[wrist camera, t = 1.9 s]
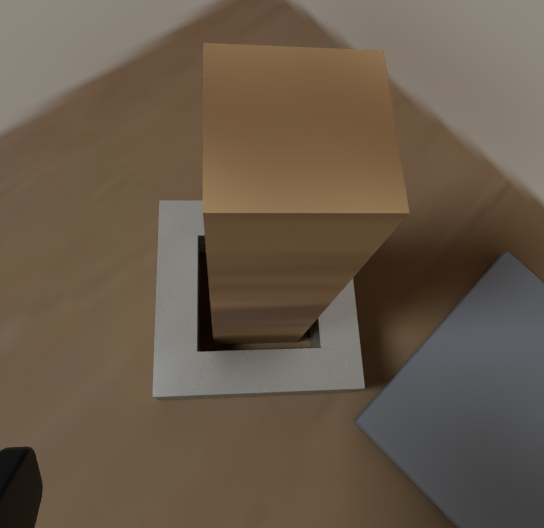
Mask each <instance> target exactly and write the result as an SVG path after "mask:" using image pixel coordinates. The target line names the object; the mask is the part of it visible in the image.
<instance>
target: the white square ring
mask: <svg viewBox="0 0 544 528" xmlns="http://www.w3.org/2000/svg"><path fill="white" fill-rule="evenodd" d="M200 252H206V245H205V232H204V220H203V201H160V202H159V230H158V259H157V287H156V315H155V344H154V372H153V397H154V398H156V399H158V400H178V399H202V398H226V397H250V396H274V395H298V394H322V393H345V392H354V391H357V390H361V389H364V388H365V384H364V375H363V366H362V357H361V347H360V338H359V329H358V320H357V310H356V301H355V292H354V283H353V279H352V280H351V281H350V282H349V283H348V284H347V285H346V287H345V288H344V289H343V290H342V291H341V292H340V293H339V295H338V296H337V297H336V298H335V299H334V300H333V301H332V303H331V304H330V305H329V306H328V307H327V308H326V309H325V311H324V312H323V313H322V314H321V315H320V316H319V317H318V319H317V320H316V321H315V322H314V323H313V324H312V325H311V327H310V342H311V348H304V349H271V350H239V351H206V352H199V309H200Z"/></svg>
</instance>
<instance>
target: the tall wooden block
mask: <svg viewBox="0 0 544 528" xmlns="http://www.w3.org/2000/svg"><path fill="white" fill-rule="evenodd" d="M408 214H409V207H408V201H407V194H406V188H405V181H404V175H403V169H402V162H401V156H400V150H399V143H398V137H397V130H396V124H395V118H394V111H393V105H392V99H391V92H390V86H389V79H388V73H387V67H386V60H385V54H384V51H377V50H356V49H332V48H309V47H285V46H262V45H238V44H214V43H203V220H204V232H205V245H206V257H207V269H208V282H209V294H210V307H211V319H212V331H213V344H214V345H217V344H251V343H286V342H297V341H298V340H299V339H300V338H301V337H302V336H303V335H304V333H305V332H306V331H307V330H308V329H309V328H310V327H311V325H312V324H313V323H314V322H315V321H316V320H317V319H318V317H319V316H320V315H321V314H322V313H323V312H324V311H325V309H326V308H327V307H328V306H329V305H330V304H331V303H332V301H333V300H334V299H335V298H336V297H337V296H338V295H339V293H340V292H341V291H342V290H343V289H344V288H345V287H346V285H347V284H348V283H349V282H350V281H351V280H352V279H353V277H354V276H355V275H356V274H357V273H358V272H359V270H360V269H361V268H362V267H363V266H364V265H365V264H366V262H367V261H368V260H369V259H370V258H371V257H372V256H373V254H374V253H375V252H376V251H377V250H378V249H379V248H380V246H381V245H382V244H383V243H384V242H385V241H386V240H387V238H388V237H389V236H390V235H391V234H392V233H393V232H394V230H395V229H396V228H397V227H398V226H399V225H400V224H401V222H402V221H403V220H404V219H405V218H406V217H407V216H408Z"/></svg>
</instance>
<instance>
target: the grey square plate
mask: <svg viewBox="0 0 544 528" xmlns="http://www.w3.org/2000/svg"><path fill="white" fill-rule="evenodd" d="M354 422H355V423H356V424H357V425H358V426H359V427H360V428H361V429H362V430H363V431H364V432H365V433H366V434H367V435H368V436H369V437H370V438H371V439H372V441H373V442H374V443H375V444H376V445H377V446H378V447H379V448H380V449H381V450H382V451H383V452H384V453H385V454H386V455H387V456H388V457H389V458H390V459H391V460H392V461H393V462H394V463H395V464H396V465H397V466H398V467H399V468H400V469H401V470H402V471H403V472H404V473H405V475H406V476H407V477H408V478H409V479H410V480H411V481H412V482H413V483H414V484H415V485H416V486H417V487H418V488H419V489H420V490H421V491H422V492H423V493H424V494H425V495H426V496H427V497H428V498H429V499H430V500H431V501H432V502H433V503H434V504H435V505H436V506H437V507H438V509H439V510H440V511H441V512H442V513H443V514H444V515H445V516H446V517H447V518H448V519H449V520H450V521H451V522H452V523H453V524H454V525H455V526H456V527H457V528H544V283H543V282H542V281H541V280H540V279H539V278H538V277H537V276H535V275H534V274H533V273H532V272H531V271H530V270H529V269H528V268H526V267H525V266H524V265H523V264H522V263H521V262H520V261H518V260H517V259H516V258H515V257H514V256H513V255H512V254H510V253H509V252H508V251H506V252H504V253H502V254H501V255H500V256H499V257H498V259H497V260H496V261H495V262H494V263H493V264H492V265H491V266H490V268H489V269H488V270H487V271H486V272H485V273H484V274H483V275H482V277H481V278H480V279H479V280H478V281H477V282H476V283H475V285H474V286H473V287H472V288H471V289H470V290H469V291H468V292H467V294H466V295H465V296H464V297H463V298H462V299H461V300H460V301H459V303H458V304H457V305H456V306H455V307H454V308H453V309H452V311H451V312H450V313H449V314H448V315H447V316H446V317H445V318H444V320H443V321H442V322H441V323H440V324H439V325H438V326H437V327H436V329H435V330H434V331H433V332H432V333H431V334H430V335H429V337H428V338H427V339H426V340H425V341H424V342H423V343H422V344H421V346H420V347H419V348H418V349H417V350H416V351H415V352H414V354H413V355H412V356H411V357H410V358H409V359H408V360H407V361H406V363H405V364H404V365H403V366H402V367H401V368H400V369H399V370H398V372H397V373H396V374H395V375H394V376H393V377H392V378H391V380H390V381H389V382H388V383H387V384H386V385H385V386H384V387H383V389H382V390H381V391H380V392H379V393H378V394H377V395H376V396H375V398H374V399H373V400H372V401H371V402H370V403H369V404H368V406H367V407H366V408H365V409H364V410H363V411H362V412H361V413H360V415H359V416H358V417H357V418H356V419H355V420H354Z"/></svg>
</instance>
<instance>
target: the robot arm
mask: <svg viewBox="0 0 544 528" xmlns="http://www.w3.org/2000/svg"><path fill="white" fill-rule="evenodd" d="M42 490H43V485H42V479H41V475H40V471H39V467H38V463H37V459H36V455H35V452H34V450H33V449H32V448H31V447H10V448H5V449H3V450H1V451H0V528H34V527H35V523H36V519H37V515H38V511H39V507H40V502H41V498H42Z"/></svg>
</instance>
